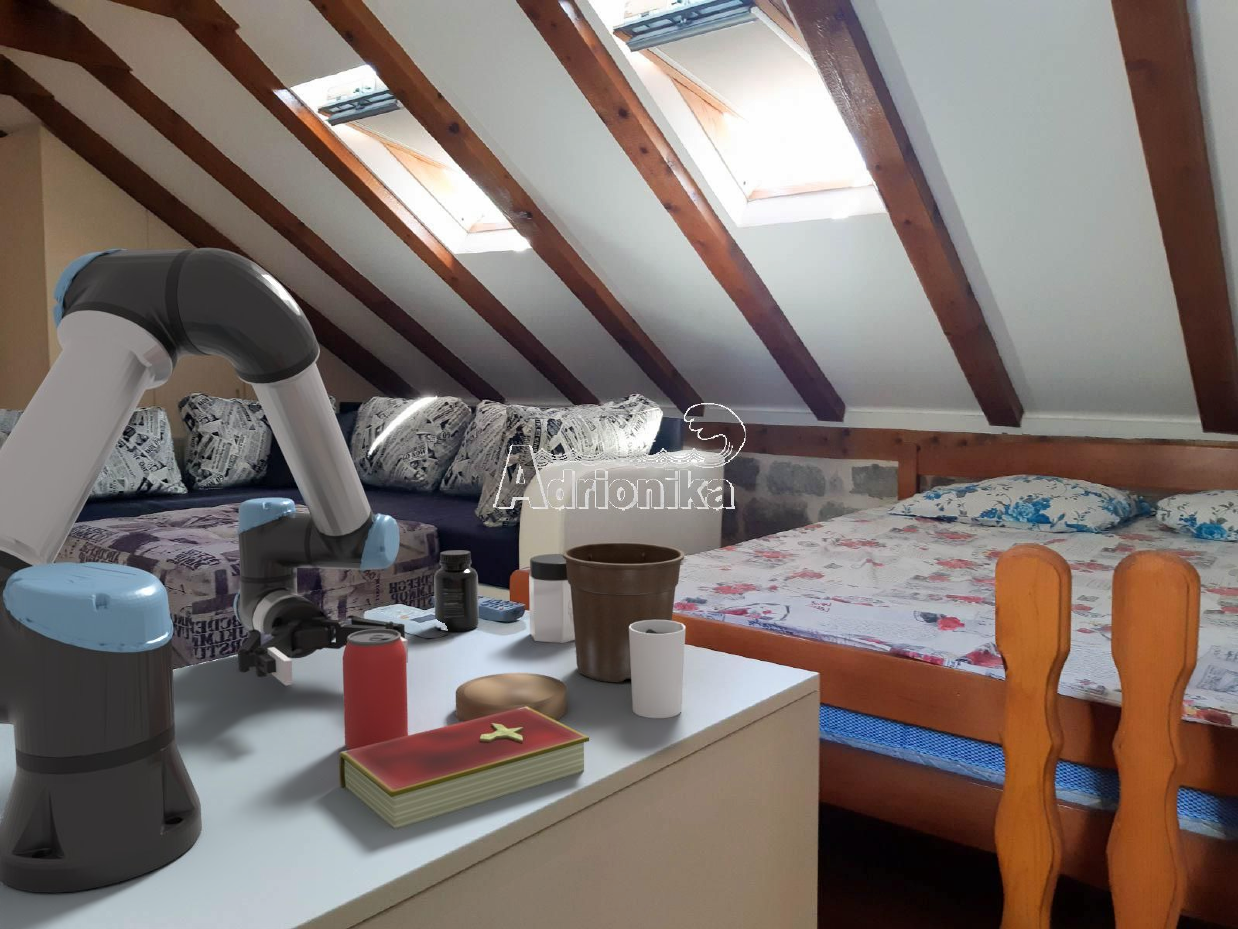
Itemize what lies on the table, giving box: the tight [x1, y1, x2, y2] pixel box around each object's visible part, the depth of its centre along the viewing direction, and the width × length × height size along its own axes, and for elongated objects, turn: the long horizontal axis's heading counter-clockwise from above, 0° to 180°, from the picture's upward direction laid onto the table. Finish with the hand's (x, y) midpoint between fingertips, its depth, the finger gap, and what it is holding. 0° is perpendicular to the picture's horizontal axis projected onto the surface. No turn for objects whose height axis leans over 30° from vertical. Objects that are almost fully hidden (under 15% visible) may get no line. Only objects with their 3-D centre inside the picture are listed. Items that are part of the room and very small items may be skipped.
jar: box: [528, 553, 575, 644], centre depth 145 cm, size 9×8×12 cm
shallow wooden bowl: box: [455, 672, 568, 723], centre depth 113 cm, size 13×13×2 cm
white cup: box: [629, 620, 686, 719], centre depth 112 cm, size 7×7×10 cm
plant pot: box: [561, 542, 685, 683], centre depth 128 cm, size 16×16×16 cm
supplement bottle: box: [433, 549, 480, 633], centre depth 151 cm, size 7×7×12 cm
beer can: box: [342, 629, 409, 750], centre depth 102 cm, size 7×7×12 cm
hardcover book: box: [338, 707, 590, 830], centre depth 93 cm, size 12×21×4 cm, turn 128°
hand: (348, 662), depth 109 cm, fingers open, 13 cm apart
